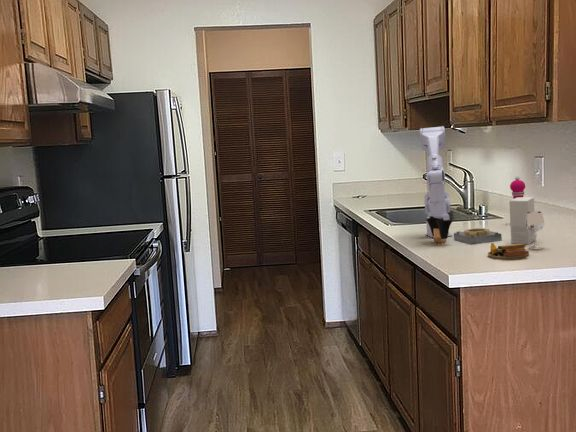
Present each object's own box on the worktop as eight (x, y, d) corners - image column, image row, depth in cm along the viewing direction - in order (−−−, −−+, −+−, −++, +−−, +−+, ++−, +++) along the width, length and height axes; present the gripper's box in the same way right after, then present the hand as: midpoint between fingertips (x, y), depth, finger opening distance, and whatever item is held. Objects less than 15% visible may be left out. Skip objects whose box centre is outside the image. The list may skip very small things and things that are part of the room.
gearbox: (450, 238, 234) (449, 229, 233) (479, 234, 236) (478, 225, 235) (471, 244, 217) (470, 234, 217) (501, 240, 219) (501, 230, 219)
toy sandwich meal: (525, 251, 197) (524, 237, 196) (533, 259, 184) (532, 244, 183) (485, 253, 199) (485, 239, 199) (490, 262, 186) (489, 247, 186)
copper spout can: (437, 244, 224) (436, 226, 223) (432, 242, 228) (431, 225, 228) (448, 242, 225) (447, 225, 224) (443, 241, 229) (442, 224, 228)
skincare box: (518, 239, 217) (516, 197, 215) (537, 240, 213) (535, 196, 211) (510, 244, 211) (508, 200, 209) (529, 244, 206) (527, 199, 205)
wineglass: (540, 245, 202) (538, 210, 201) (548, 248, 197) (546, 212, 195) (523, 247, 202) (521, 212, 201) (531, 250, 197) (529, 214, 195)
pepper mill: (530, 224, 249) (527, 176, 247) (512, 225, 251) (509, 177, 249) (527, 221, 256) (524, 175, 254) (509, 222, 258) (506, 176, 256)
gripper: (419, 201, 231) (422, 236, 233) (435, 204, 217) (438, 241, 218) (437, 199, 232) (439, 234, 234) (453, 202, 218) (456, 238, 220)
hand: (439, 237), depth 226 cm, fingers open, 7 cm apart
